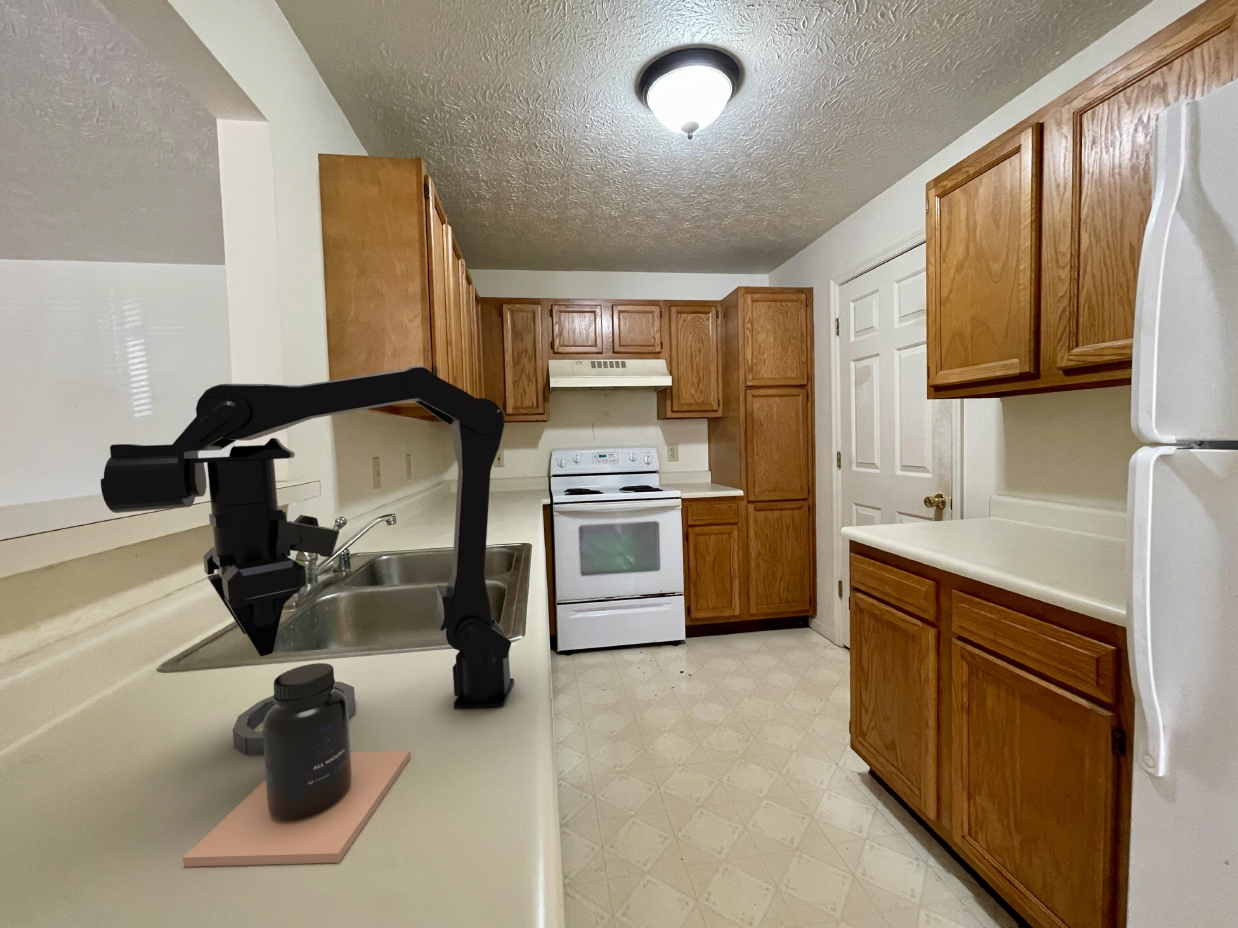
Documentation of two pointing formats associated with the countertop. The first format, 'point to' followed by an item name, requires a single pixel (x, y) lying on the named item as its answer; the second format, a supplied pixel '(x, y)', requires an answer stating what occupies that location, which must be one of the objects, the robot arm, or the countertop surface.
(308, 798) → the supplement bottle
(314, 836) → the tile
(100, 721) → the countertop surface
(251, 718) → the collar
